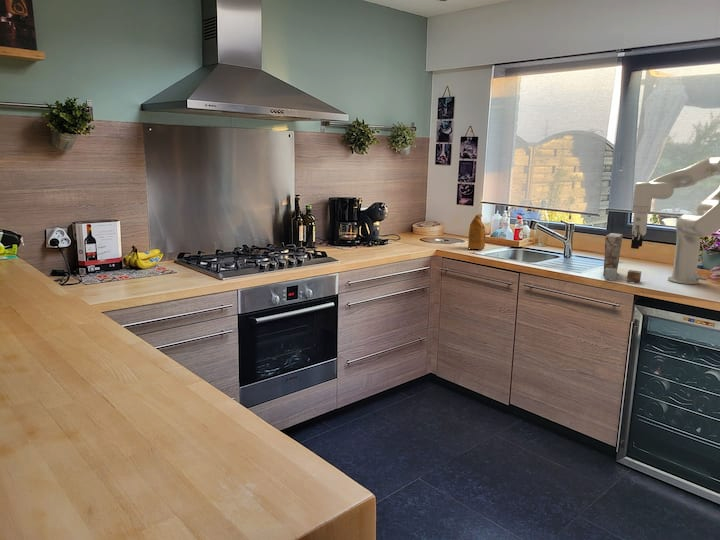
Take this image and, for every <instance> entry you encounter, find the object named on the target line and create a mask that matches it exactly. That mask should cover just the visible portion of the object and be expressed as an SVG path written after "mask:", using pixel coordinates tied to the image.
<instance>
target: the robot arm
mask: <svg viewBox="0 0 720 540" xmlns="http://www.w3.org/2000/svg"><path fill="white" fill-rule="evenodd" d="M715 176H720V155H712V156H708V157H705V158H703V159H702V160H699V161H698V162H696V163H693V164H691V165H688V166H687V167H685V168H683V169H678V170H675V171H673V172H670V173H667V174H663V175H661V176H659V177H657V178H654V179H653V180H650V181H649V182H648V181H644V182H643V181H642V182H641V181H639V182H636V183H635V184H634V191H633V196H632V197H633V198H632V206H631V213H632V214H633V220H632V229H631V234H632V237H631V243H630V248H631V249H633V250H639V249H640V248H641V247H643V240H644V238H643V237H644V236H645V235H646V234H647V225H648V215H649V214H651V211H652V210H651V208H652V201H653V199H656V200H666V199H667V200H668V199H670V198H671V197H672V196H673V195H674V192H675V191H674V190H676V189H680V188H688V187H691V186H695V185H697V184H699V183H701V182H703V181H705V180H707V179H710V178H712V177H715ZM696 212H697V213H690V212H689V213H684V214H682V215H680V216H679V218H677V221H676V224H675V227H676V229H675V231H676V241H675V243H676V244H675V250H674V259H673V266H672V274H671V276H668V277H667V280H668V281H669V282H672V283H676V284H685V285H696V284H699V283H700V280H702V281H708V275H700V274H698V272H697V271H698V265H699V256H700V248H701V239H700V238H705V237H709V236H711V235H712V234H715V232H717V231H718V230H719V229H720V184H719V185H718V187H717V188H716V190H714V191H713V192H712V193H711V194H710V195H708V196H707V197H706V198H705V199H704V200H703V201H701V202H700V203H699V204H698V206H697V208H696Z"/></svg>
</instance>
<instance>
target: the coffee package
mask: <svg viewBox="0 0 720 540" xmlns="http://www.w3.org/2000/svg"><path fill="white" fill-rule="evenodd" d="M482 218H483V214H482V213H478V214H475V216H474V218H473V219H472V220H471V222H470V224H469V230H468V243H467V244H468V245H467V249H468V248H470V249H478V250H479V251H481V250H483V249H485V246H486V234H487V233H486V227H485V225H484V223H483V221H482ZM478 250H477V251H478Z"/></svg>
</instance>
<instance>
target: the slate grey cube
mask: <svg viewBox="0 0 720 540" xmlns="http://www.w3.org/2000/svg"><path fill="white" fill-rule="evenodd" d="M617 275H618V269H617V268H605V275H604V278H603V279H611V280H610V281H614V280H616V281H617Z"/></svg>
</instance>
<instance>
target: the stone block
mask: <svg viewBox="0 0 720 540" xmlns="http://www.w3.org/2000/svg"><path fill="white" fill-rule="evenodd" d="M623 235H624V234H621V233H615V232H611V233H609V234H607V235H606V236H605V241H604V242H605V243H604V261H603V262H604V263H603V276H605V268H617V270H618V268H619V263H620V256H621V249H622V241H623Z"/></svg>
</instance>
